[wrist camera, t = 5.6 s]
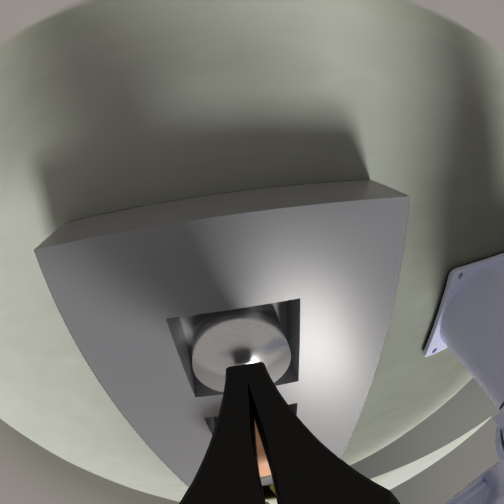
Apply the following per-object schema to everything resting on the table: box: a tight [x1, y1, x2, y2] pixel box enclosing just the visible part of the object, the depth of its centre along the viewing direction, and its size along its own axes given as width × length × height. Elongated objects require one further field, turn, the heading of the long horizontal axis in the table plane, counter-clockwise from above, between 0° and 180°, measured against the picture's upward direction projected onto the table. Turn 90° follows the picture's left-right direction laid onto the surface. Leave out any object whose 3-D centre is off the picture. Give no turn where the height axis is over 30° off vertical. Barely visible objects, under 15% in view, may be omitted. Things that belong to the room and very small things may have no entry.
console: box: [34, 180, 410, 487], centre depth 15 cm, size 14×26×3 cm, turn 5°
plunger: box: [192, 304, 291, 392], centre depth 12 cm, size 4×4×2 cm
